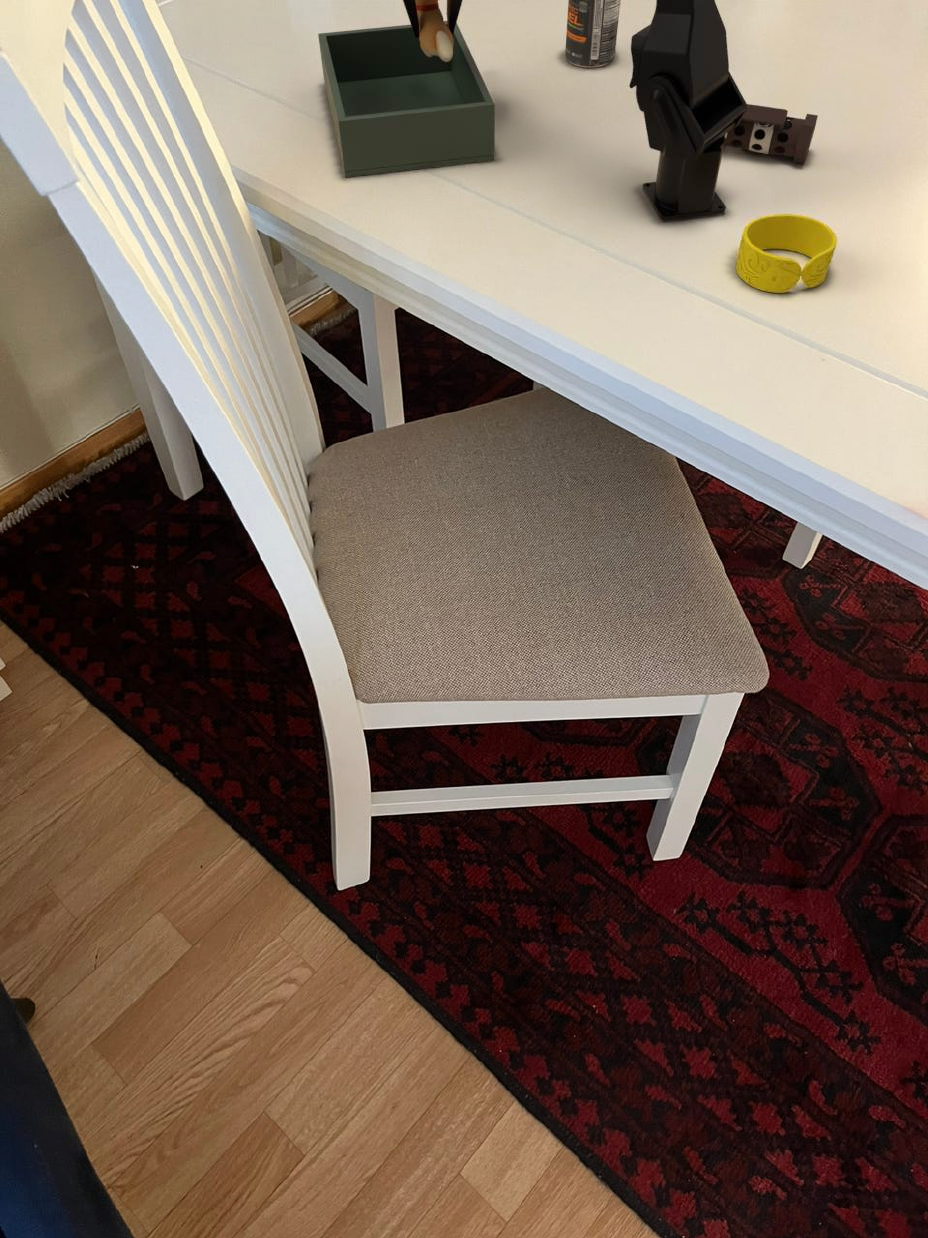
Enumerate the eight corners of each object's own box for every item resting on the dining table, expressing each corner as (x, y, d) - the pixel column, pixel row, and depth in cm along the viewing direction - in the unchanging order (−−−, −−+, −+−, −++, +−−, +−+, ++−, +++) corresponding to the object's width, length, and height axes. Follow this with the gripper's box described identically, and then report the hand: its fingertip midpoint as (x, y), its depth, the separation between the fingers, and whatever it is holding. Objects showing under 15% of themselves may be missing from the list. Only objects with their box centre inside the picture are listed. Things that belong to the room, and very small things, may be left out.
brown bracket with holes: (801, 173, 96) (807, 143, 91) (692, 155, 99) (693, 124, 94) (813, 134, 97) (820, 102, 91) (704, 117, 99) (705, 85, 94)
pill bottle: (556, 52, 113) (562, -59, 104) (601, 44, 114) (610, -66, 105) (577, 72, 110) (585, -41, 101) (623, 63, 111) (635, -49, 102)
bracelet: (721, 255, 85) (728, 221, 83) (800, 241, 87) (809, 206, 84) (758, 299, 81) (767, 264, 78) (841, 283, 82) (852, 248, 80)
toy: (435, 11, 103) (431, -43, 99) (466, 76, 92) (463, 19, 88) (405, 15, 103) (400, -38, 99) (433, 81, 92) (428, 24, 88)
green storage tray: (494, 160, 97) (494, 104, 93) (345, 177, 96) (338, 120, 91) (456, 72, 110) (455, 19, 106) (324, 86, 109) (318, 33, 104)
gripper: (330, -123, 78) (352, 77, 91) (547, -142, 80) (540, 56, 93) (318, -158, 85) (340, 32, 98) (518, -175, 87) (515, 14, 99)
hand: (433, 34), depth 97 cm, fingers closed on toy, 3 cm apart
